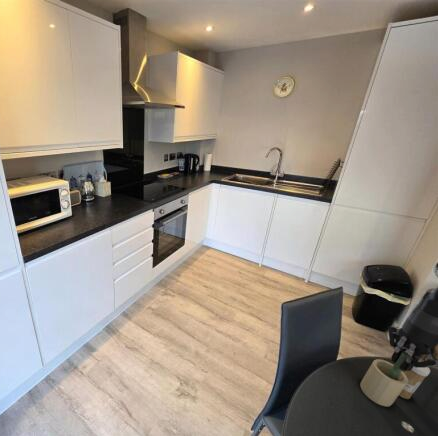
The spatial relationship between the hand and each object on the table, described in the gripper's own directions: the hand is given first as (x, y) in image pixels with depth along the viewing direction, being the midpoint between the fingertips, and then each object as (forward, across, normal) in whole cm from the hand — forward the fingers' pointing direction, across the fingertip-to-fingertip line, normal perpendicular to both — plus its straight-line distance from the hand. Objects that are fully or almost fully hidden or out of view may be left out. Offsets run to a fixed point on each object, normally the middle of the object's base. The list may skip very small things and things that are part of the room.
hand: (399, 365), depth 76 cm
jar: (+14, +1, +1) cm, 14 cm away
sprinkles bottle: (+15, +1, -8) cm, 17 cm away
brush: (+13, 0, 0) cm, 13 cm away
